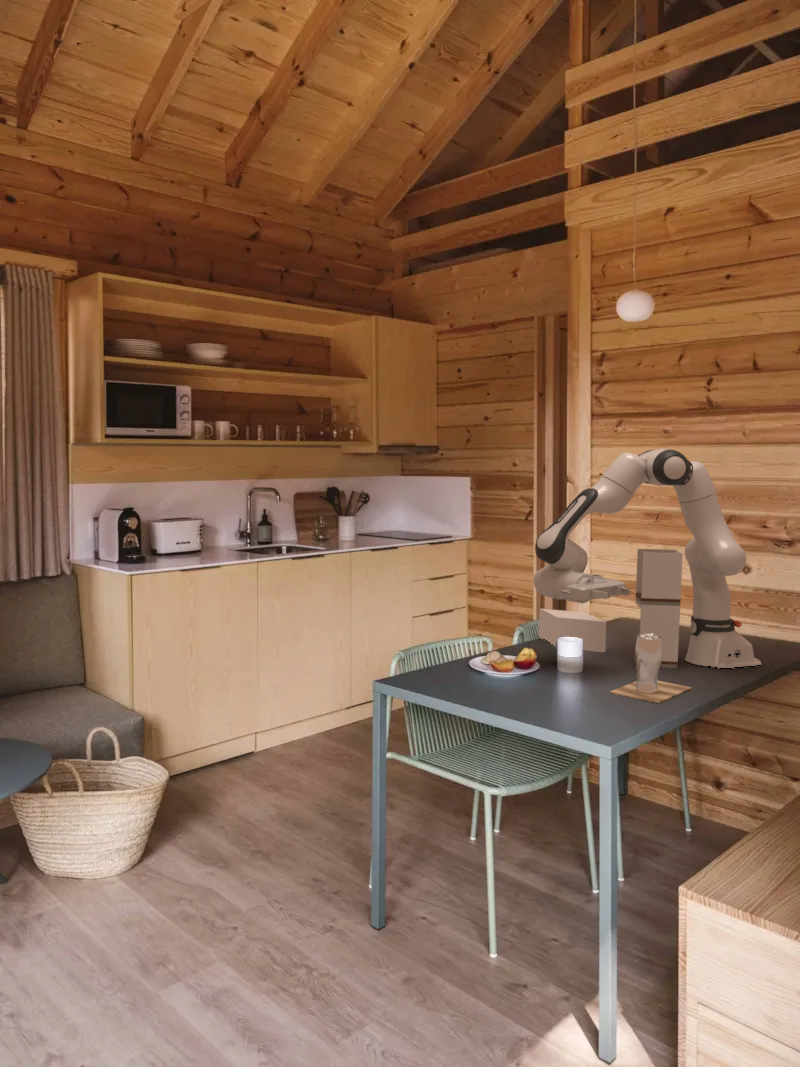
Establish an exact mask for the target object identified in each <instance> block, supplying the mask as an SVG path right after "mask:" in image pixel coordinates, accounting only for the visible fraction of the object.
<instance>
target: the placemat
mask: <svg viewBox="0 0 800 1067" xmlns="http://www.w3.org/2000/svg"><path fill="white" fill-rule="evenodd" d="M636 682H637V680H636V681H633V682H631V683H628V684H626V685H622V686H620V687H618V688H615V689H613V690H610V691H609V694H611V693H612V694H611V695H616V696H620V695H621V696H622V697H625V698H629V697H630V699H634V700H638V699H639V701H643V700H644V701H645V702H647V701H648V703H652V702H654V703H653V704H656V703H658V704H657V705H660V704H662V703H664V702H666V701H669V700H671V699H673V698H675V697H678V696H680V695H682V694H684V692H685V693H687V692H689V691H691V690H693V687H691V686H686V685H681V684H678V683H677V684H676V683H671V682H666V681H662V680H657V684H658V692H657V693H652V694H648V693H641V692H638V691H636V690H635V686H636ZM688 690H689V691H688ZM686 691H687V692H686ZM681 693H682V694H681ZM679 694H680V695H679ZM677 695H678V696H677ZM626 696H627V697H626ZM674 696H675V697H674ZM672 697H673V698H672ZM670 698H671V699H670ZM668 699H669V700H668ZM665 700H666V701H665ZM644 701H643V702H644ZM661 702H662V703H661Z"/></svg>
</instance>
